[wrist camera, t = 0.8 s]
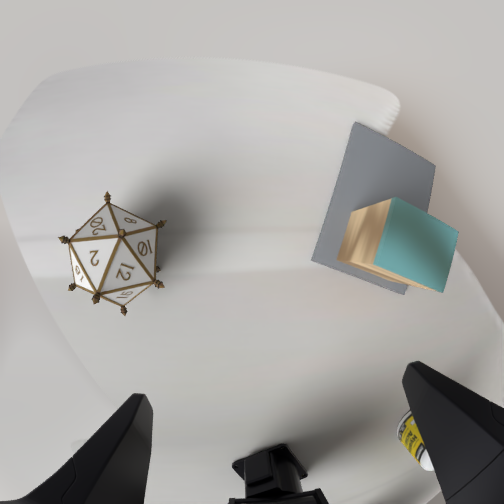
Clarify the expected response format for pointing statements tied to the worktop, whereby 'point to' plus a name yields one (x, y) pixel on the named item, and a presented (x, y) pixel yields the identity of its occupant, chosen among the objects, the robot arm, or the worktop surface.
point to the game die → (114, 255)
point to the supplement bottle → (414, 441)
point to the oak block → (399, 244)
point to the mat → (371, 192)
